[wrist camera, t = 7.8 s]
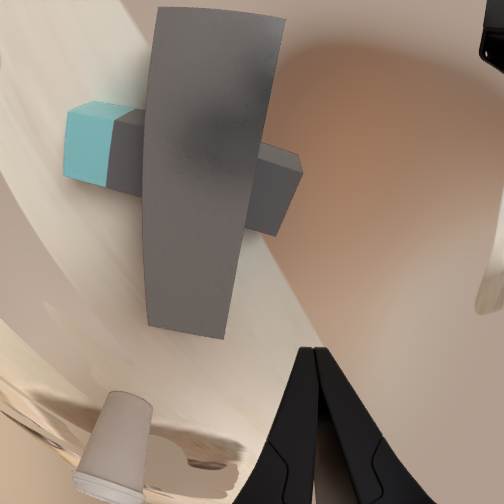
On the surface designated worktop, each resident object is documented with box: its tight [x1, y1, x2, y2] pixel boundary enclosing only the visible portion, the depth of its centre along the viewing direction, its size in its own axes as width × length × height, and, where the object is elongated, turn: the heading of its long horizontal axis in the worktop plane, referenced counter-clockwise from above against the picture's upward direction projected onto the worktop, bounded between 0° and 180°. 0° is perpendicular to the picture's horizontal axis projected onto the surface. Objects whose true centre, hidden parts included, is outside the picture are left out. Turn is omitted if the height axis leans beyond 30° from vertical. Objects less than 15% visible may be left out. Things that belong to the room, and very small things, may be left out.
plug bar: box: [63, 101, 303, 237], centre depth 17 cm, size 13×4×3 cm, turn 72°
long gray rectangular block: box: [142, 7, 286, 340], centre depth 17 cm, size 5×18×5 cm, turn 170°
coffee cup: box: [72, 391, 153, 504], centre depth 32 cm, size 10×10×15 cm
